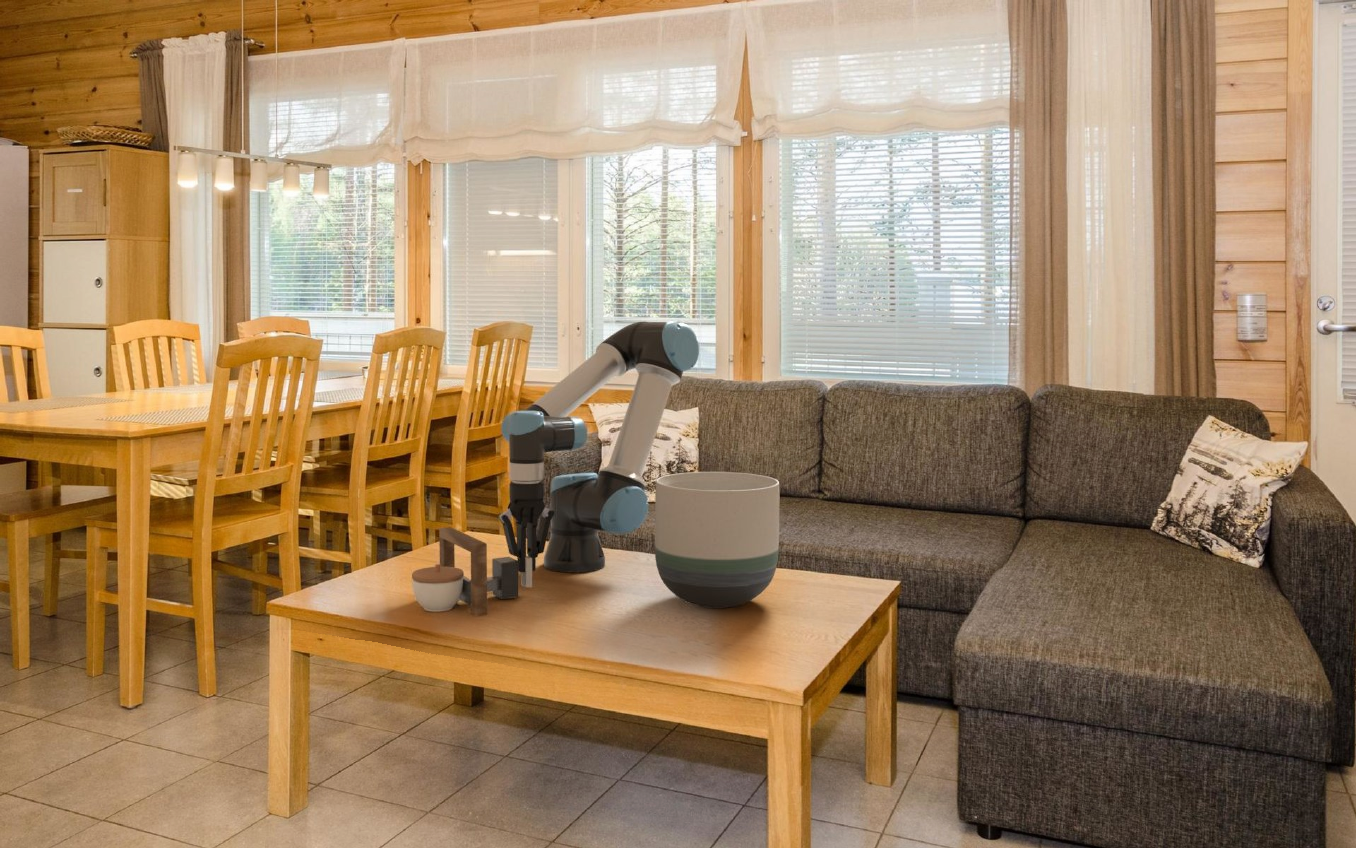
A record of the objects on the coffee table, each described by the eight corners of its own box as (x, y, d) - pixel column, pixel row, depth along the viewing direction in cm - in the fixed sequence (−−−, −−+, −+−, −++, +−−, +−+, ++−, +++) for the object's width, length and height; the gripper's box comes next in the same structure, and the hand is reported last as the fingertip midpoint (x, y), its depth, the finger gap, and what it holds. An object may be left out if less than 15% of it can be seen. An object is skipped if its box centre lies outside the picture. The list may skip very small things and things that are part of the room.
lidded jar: (454, 616, 224) (453, 571, 223) (404, 613, 226) (403, 569, 225) (470, 602, 235) (470, 560, 234) (423, 600, 236) (422, 558, 235)
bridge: (450, 592, 243) (450, 526, 241) (487, 614, 226) (486, 543, 224) (440, 594, 241) (439, 527, 240) (475, 616, 224) (475, 545, 223)
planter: (790, 594, 245) (792, 475, 242) (759, 626, 219) (761, 494, 217) (678, 583, 253) (679, 468, 251) (636, 612, 228) (636, 486, 225)
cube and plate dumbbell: (505, 589, 244) (505, 554, 243) (522, 598, 236) (522, 562, 235) (452, 597, 237) (452, 561, 236) (468, 606, 230) (468, 569, 229)
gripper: (545, 476, 246) (545, 578, 248) (492, 480, 239) (492, 585, 241) (560, 481, 240) (560, 585, 242) (506, 485, 232) (506, 593, 235)
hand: (526, 585), depth 241 cm, fingers closed
